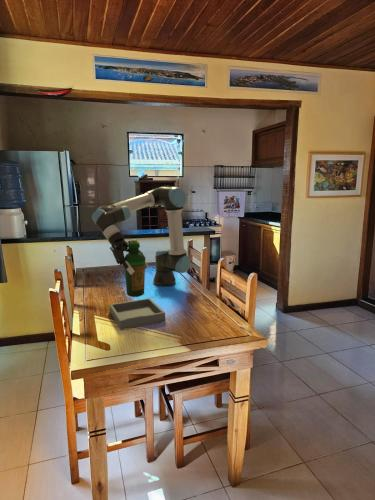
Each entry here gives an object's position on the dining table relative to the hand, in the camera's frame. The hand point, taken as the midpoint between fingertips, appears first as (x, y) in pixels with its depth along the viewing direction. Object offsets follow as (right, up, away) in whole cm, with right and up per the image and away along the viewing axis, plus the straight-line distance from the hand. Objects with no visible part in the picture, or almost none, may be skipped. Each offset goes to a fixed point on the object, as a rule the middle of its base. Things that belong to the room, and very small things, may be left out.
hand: (139, 270), depth 156 cm
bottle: (-3, -13, +4) cm, 14 cm away
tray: (-3, -24, +7) cm, 25 cm away
